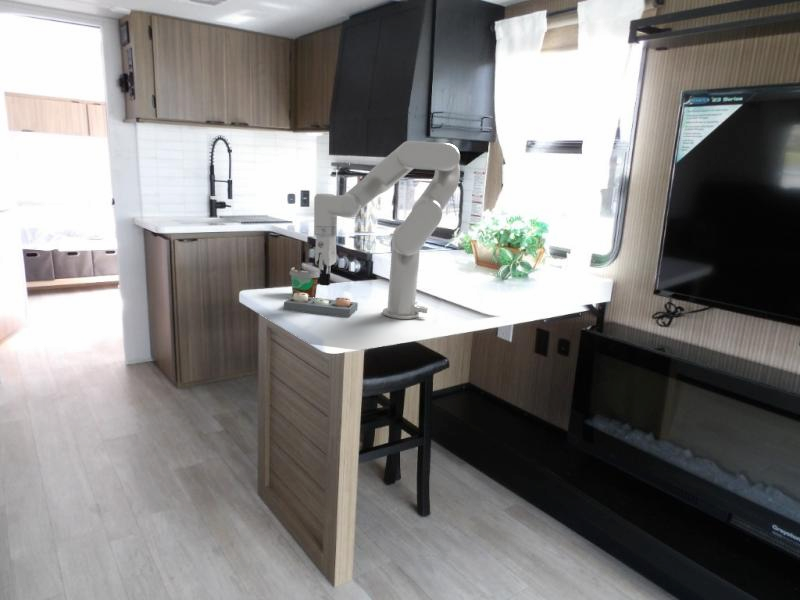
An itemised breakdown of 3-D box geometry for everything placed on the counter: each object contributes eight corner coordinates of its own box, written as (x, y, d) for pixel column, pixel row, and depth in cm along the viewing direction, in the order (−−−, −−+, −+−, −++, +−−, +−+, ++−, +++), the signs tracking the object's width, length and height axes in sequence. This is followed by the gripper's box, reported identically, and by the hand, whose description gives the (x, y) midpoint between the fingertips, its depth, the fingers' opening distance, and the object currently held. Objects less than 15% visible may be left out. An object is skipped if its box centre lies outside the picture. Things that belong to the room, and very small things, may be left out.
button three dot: (351, 306, 195) (351, 297, 195) (347, 310, 190) (348, 301, 190) (337, 305, 196) (337, 296, 195) (333, 308, 191) (333, 299, 190)
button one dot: (330, 308, 197) (330, 299, 196) (326, 311, 192) (326, 302, 191) (316, 306, 197) (316, 298, 197) (312, 310, 193) (312, 301, 192)
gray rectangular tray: (357, 309, 198) (357, 302, 198) (349, 317, 188) (349, 309, 187) (294, 302, 202) (295, 295, 201) (283, 309, 191) (284, 302, 190)
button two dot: (309, 301, 197) (310, 293, 197) (305, 305, 193) (305, 296, 192) (296, 300, 198) (296, 291, 197) (291, 303, 193) (291, 294, 193)
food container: (282, 295, 212) (282, 268, 209) (292, 292, 217) (293, 267, 215) (308, 300, 206) (309, 273, 204) (318, 297, 211) (319, 271, 209)
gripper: (329, 234, 181) (329, 290, 185) (342, 229, 195) (341, 281, 199) (307, 232, 182) (307, 288, 186) (321, 228, 196) (320, 280, 200)
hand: (324, 284), depth 193 cm, fingers closed
